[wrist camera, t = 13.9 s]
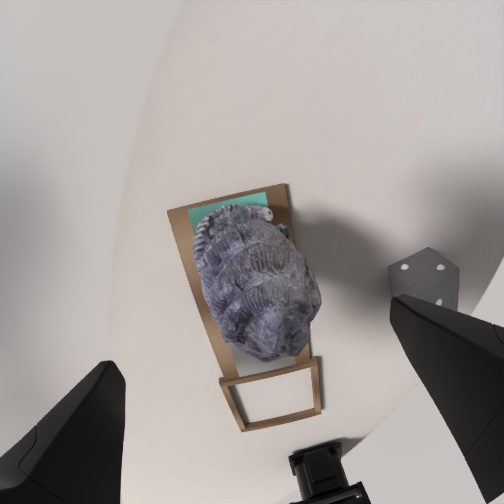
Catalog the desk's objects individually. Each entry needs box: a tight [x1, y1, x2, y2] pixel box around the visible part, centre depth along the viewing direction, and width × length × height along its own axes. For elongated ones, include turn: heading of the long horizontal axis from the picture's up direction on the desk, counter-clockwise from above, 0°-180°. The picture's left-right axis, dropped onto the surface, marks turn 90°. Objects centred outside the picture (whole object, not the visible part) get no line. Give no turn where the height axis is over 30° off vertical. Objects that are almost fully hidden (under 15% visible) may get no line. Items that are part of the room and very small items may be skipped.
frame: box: [219, 356, 321, 432], centre depth 24 cm, size 8×8×1 cm
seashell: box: [192, 203, 322, 363], centre depth 13 cm, size 5×5×10 cm
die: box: [388, 247, 459, 311], centre depth 19 cm, size 4×4×4 cm
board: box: [167, 183, 310, 380], centre depth 20 cm, size 15×7×1 cm, turn 12°
